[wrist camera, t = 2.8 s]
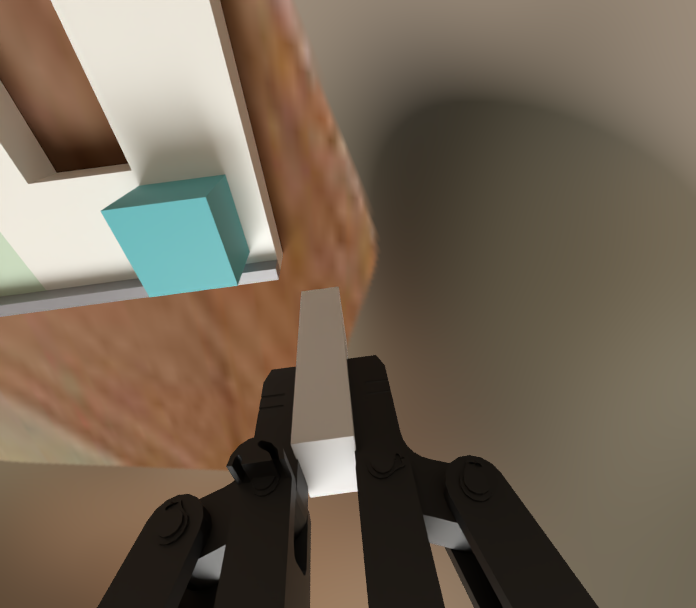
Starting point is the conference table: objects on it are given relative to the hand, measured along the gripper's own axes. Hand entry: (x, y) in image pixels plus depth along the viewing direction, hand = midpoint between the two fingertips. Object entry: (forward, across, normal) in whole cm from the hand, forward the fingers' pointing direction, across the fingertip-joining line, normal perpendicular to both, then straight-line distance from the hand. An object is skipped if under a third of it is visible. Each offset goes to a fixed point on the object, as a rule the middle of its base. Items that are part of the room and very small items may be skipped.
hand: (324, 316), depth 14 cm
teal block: (+13, -9, 0) cm, 16 cm away
